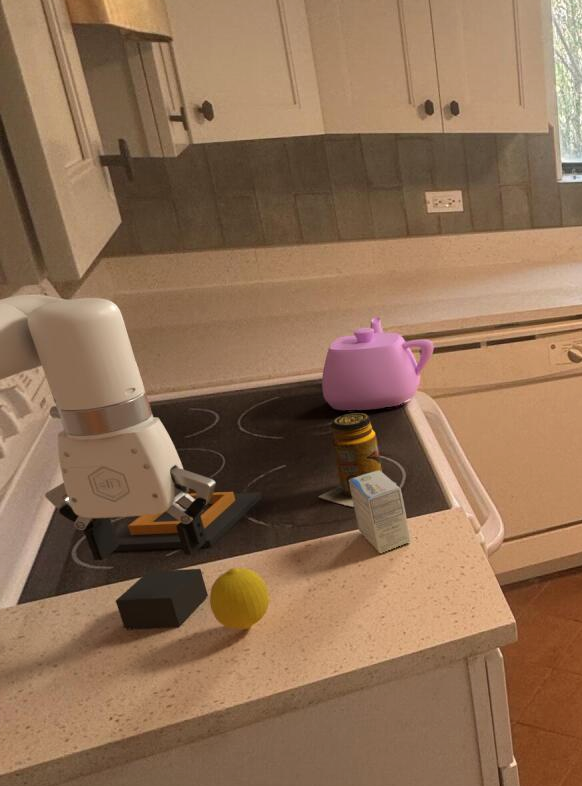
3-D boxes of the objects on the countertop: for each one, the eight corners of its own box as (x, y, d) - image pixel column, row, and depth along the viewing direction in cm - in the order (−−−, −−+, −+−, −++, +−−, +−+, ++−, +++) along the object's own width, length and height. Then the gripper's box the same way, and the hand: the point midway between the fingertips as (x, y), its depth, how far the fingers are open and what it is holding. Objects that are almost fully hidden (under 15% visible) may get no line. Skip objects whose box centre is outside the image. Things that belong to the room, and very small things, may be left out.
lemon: (264, 607, 94) (249, 550, 91) (283, 626, 91) (268, 567, 88) (212, 630, 90) (194, 571, 87) (230, 650, 87) (212, 589, 84)
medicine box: (412, 543, 108) (402, 487, 105) (378, 555, 105) (367, 498, 102) (390, 522, 113) (380, 468, 110) (358, 533, 110) (347, 478, 107)
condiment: (397, 484, 124) (385, 414, 120) (353, 507, 117) (338, 434, 113) (363, 475, 127) (350, 407, 123) (318, 498, 120) (302, 426, 116)
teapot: (436, 410, 154) (425, 336, 149) (319, 420, 149) (303, 344, 144) (448, 373, 175) (438, 308, 169) (345, 381, 170) (332, 314, 164)
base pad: (102, 551, 106) (96, 535, 105) (165, 502, 119) (160, 487, 118) (211, 546, 107) (206, 530, 106) (261, 498, 120) (258, 483, 119)
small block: (124, 629, 90) (115, 600, 89) (157, 598, 96) (148, 571, 94) (179, 626, 91) (170, 597, 89) (208, 596, 96) (200, 568, 95)
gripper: (-8, 431, 80) (47, 574, 86) (170, 423, 81) (212, 564, 87) (47, 405, 87) (95, 539, 93) (210, 398, 88) (246, 530, 94)
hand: (152, 551), depth 90 cm, fingers open, 9 cm apart
